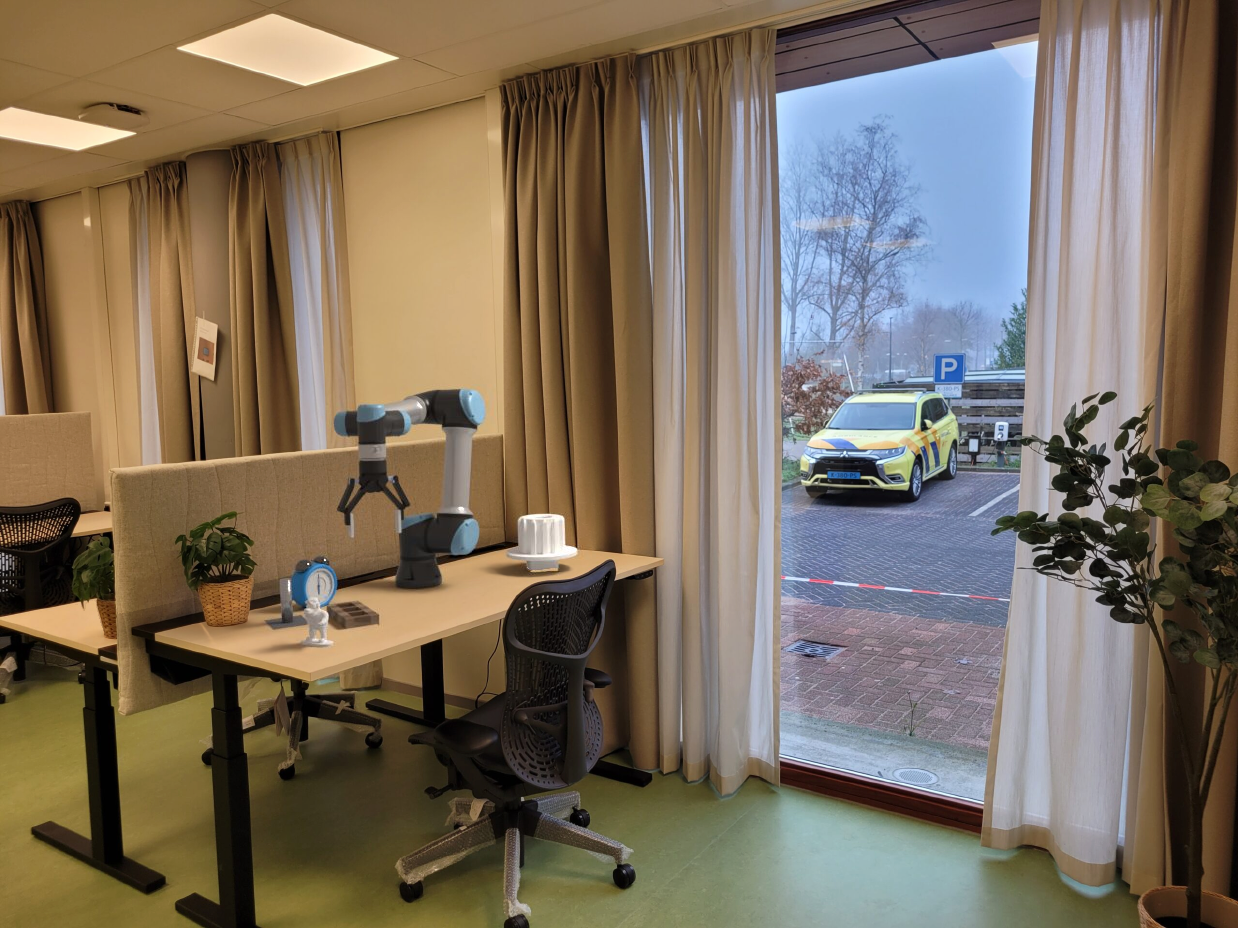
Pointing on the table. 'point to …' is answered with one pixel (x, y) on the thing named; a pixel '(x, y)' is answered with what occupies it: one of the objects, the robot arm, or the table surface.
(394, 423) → the robot arm
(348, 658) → the table surface
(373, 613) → the hole block
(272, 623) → the mat
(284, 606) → the pin
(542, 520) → the flanged gear
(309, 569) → the alarm clock
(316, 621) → the figurine
